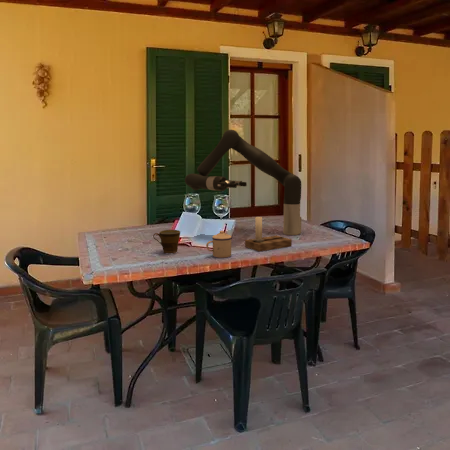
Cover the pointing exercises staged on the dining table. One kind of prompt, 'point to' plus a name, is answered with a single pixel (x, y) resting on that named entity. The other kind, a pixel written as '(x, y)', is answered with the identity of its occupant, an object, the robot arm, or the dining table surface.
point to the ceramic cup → (169, 240)
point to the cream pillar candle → (258, 229)
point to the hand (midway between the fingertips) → (241, 185)
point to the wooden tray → (269, 243)
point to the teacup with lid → (221, 245)
